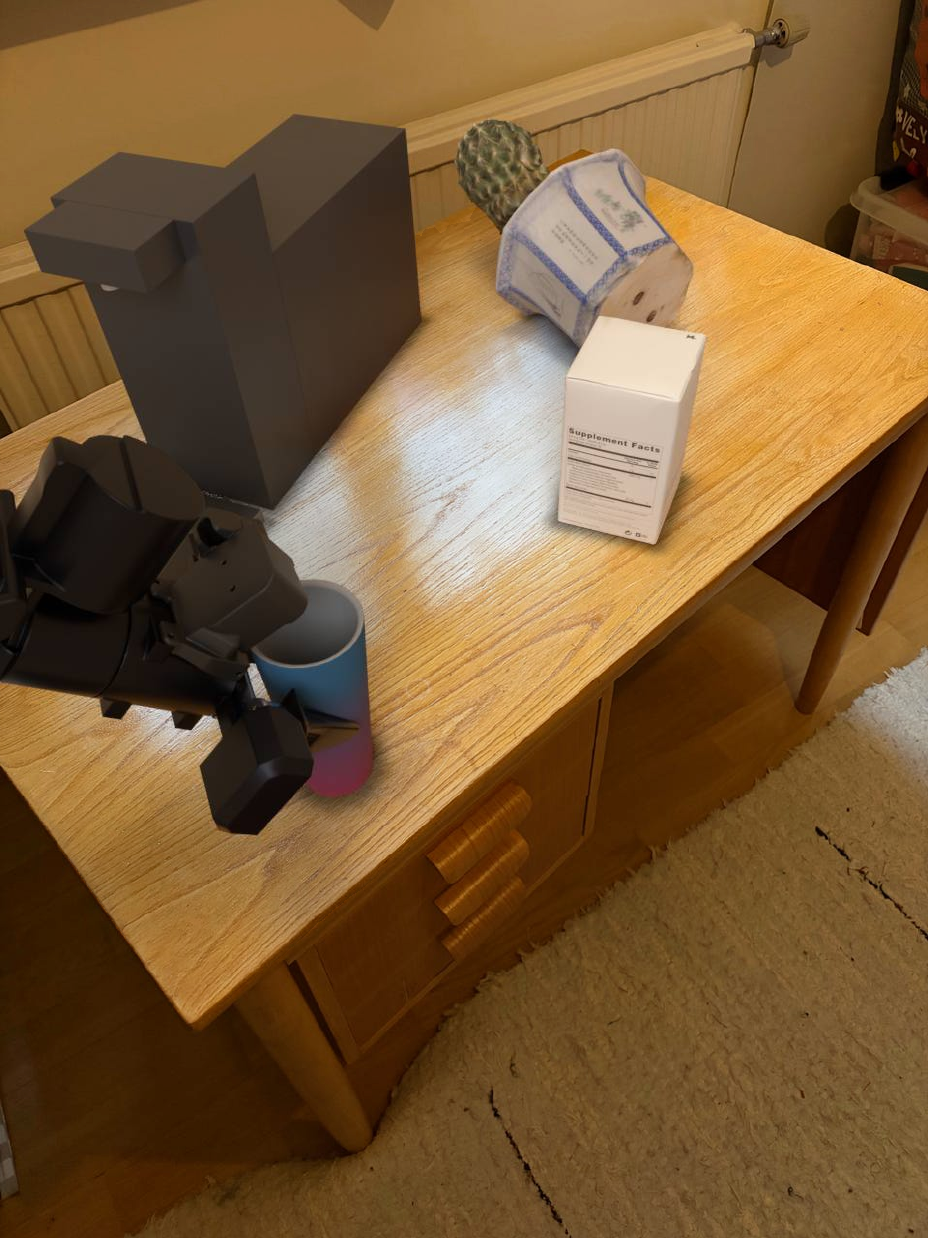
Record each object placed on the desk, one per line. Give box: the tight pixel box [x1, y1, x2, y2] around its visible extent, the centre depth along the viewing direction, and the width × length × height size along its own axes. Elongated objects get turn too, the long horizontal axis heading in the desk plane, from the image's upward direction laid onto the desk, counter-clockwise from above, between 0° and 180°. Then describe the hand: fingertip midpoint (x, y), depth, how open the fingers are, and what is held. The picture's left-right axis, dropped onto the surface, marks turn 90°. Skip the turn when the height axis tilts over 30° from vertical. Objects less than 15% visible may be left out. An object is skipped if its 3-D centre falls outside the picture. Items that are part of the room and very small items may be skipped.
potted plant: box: [453, 117, 694, 350], centre depth 91 cm, size 18×18×30 cm
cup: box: [250, 578, 374, 798], centre depth 55 cm, size 7×7×15 cm
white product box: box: [557, 316, 707, 545], centre depth 71 cm, size 9×9×15 cm
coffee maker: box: [23, 113, 422, 511], centre depth 78 cm, size 37×12×26 cm, turn 158°
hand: (340, 694), depth 56 cm, fingers closed on cup, 6 cm apart
